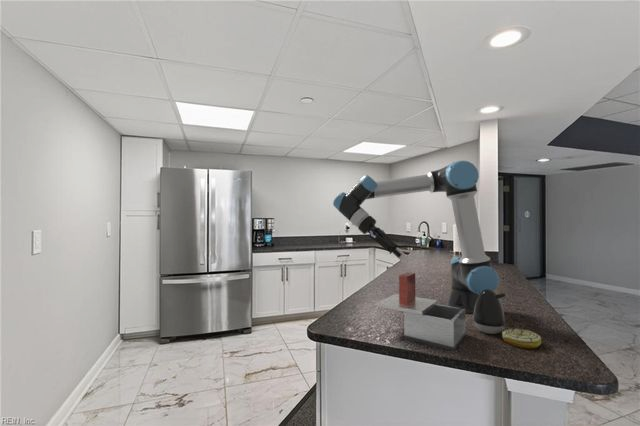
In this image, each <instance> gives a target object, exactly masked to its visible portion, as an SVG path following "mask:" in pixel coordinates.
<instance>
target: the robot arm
mask: <svg viewBox="0 0 640 426" xmlns="http://www.w3.org/2000/svg"><path fill="white" fill-rule="evenodd" d="M479 177H480V176H479V170H478V168H477V166H475V164H474V163H471V162H470V161H467V160H456V161H454V162H452V163H449V164H448V165H446V166H444V167H442V168H440V169H437V170H432V171H428V172H427V174H421V175H413V176H406V177H399V178H392V179H387V180H386V179H385V180H378V181H375V179H374V178H372V177H371V176H369V175H368V174H365V175H363V176H362V177H361V178H360V179H359V180H358V181H357V182H356V183H355V185H354V186H353V187H352V188H351V189H350V190H349V191H347V193H346V192H343V191H342V192H340V193H339V194H337V195H336V197H335V198H334V200H333V203H332V205H333V207H334V208H335V209H336V210H337V211H338V212H339V213H340V214H341V215H343V216H344V217H345V218H346V219H347V220H348V221H349V222H350V223H351V225H352V226H355V228H358V230H359V231H360V232H361V233H362V234H363V235H366V234H369V238H371V239H372V240H374V241H375V242H376V243H377V244H378V245H380V246H381V247H382V248H383V249H385V250H386V251H387V252H389V254H390V255H391V254H392V255H394V256H395V257H396V258H397V259H399V261H401V262H402V264H403V265H406V264H407V263H408V262H409V261H410V259H411V258H410V257H409V256H408V255H406V253H404V252H403V251H402V250H401V249H400V248H399V245H398V244H397V243H396V242H395V241H394V240H393V239H392V238H391V237H390V236H389V235H388V234H387V233H386V232H385V231H384V230H383V229H381V228H380V227H377V226H376V224H377V220H376V219H375V218H374V217H373V216H372V215H370V214H369V213H368V212H367V211H366V210H365V209H364V208H362V206H361V205H362V204H363V203H364V202H365V201H366V200H371V199H377V198H378V199H379V198H384V197H393V196H400V195H408V194H415V193H422V192H430V193H431V194H432V193H440V192H441V193H442V192H443V193H445V194H446V198H448V199H449V200H450V201H451V205H452V206H451V207H452V210H453V214H454V221H455V222H454V223H455V226H456V231H457V237H458V241H459V248H460V252H461V257H452V258H451V261H450V273H451V275H450V277H451V278H450V283H451V288H450V293H449V296H448V298H447V305H446V306H450V307H456V308H462V309H465V310H466V313H467V314H473V312H474V307H475V303H476V300H477V298H478V296H479V294H480V293H481V292H482V291H483V290H486V289H489V290H492V291H494V292H495V290H496V289H497V288H498V285H499V283H500V277H499V275H498V272H497V271H496V270H495V269H494V268H493V266H492V265H493V264H492V260H491V257H490V256H488V255H487V254H486V251H485V246H484V241H483V237H482V231H481V225H480V220H479V215H478V211H477V205H476V200H475V195H476V194H477V193H478V189H477V183H478V181H479Z"/></svg>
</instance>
